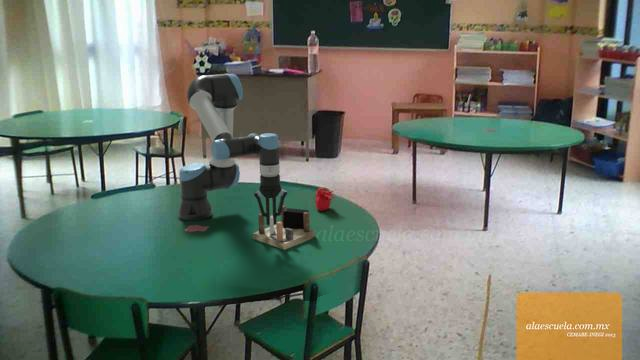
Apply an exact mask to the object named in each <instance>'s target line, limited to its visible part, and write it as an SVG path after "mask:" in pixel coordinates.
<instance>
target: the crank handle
mask: <svg viewBox="0 0 640 360" xmlns="http://www.w3.org/2000/svg"><path fill="white" fill-rule="evenodd" d="M276 228H277V234H276V233H275V230H274V234H270V237H272V238H273V239H274V240H276V241H277V242H280V241H283V223H282V222H281V221H276Z"/></svg>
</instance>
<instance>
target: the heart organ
mask: <svg viewBox="0 0 640 360" xmlns="http://www.w3.org/2000/svg"><path fill="white" fill-rule="evenodd" d="M334 196H335V193H334V191H333V190H328V189H327V188H326V187H325V186H324V187H323V186H322V187H319V188H318V189H317V190H316V191H315V196H314V198H315V199H314V200H315V201H314V203H315V207H316V209H317V210H318V211H320V212H322V211H323V212H324V211H326V210H328V209H329V208H330V207H331V204H332V201H333V198H334Z"/></svg>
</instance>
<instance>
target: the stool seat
mask: <svg viewBox="0 0 640 360" xmlns="http://www.w3.org/2000/svg"><path fill="white" fill-rule="evenodd" d="M287 208H288V207H287V205H283V207H282V211H281V215H280V220H281V221H280V222H282V223H283V213H284V210H285V209H287ZM303 214H304V229H289V228H283V241H280V242H277V241H276V240H274V239H273V238H272V237H270V226H269V227H267V228H265V227H266V226H265V216H262V214H261V213H258V214H257V218H258V219H257V220H258V221H257V222H258V231H255V232H253V234H252V235H253V237H252V238H253V240H256V241H257V242H258V241H259V242H261V243H264V244H267V245H269V246H272V247H276V248H278V249H280V250H284V251H285V250H287V249H290V248H293V247H295V246H297V245H300V244H302V243H304V242H307V241H309V240H312V239H314V238H316V231H315V230H314V229H313V230H312V229H310V226H311V225H310V211H309V212H304V213H303ZM274 230H275V233H276V234H277V228H276V225H274ZM313 237H314V238H313Z"/></svg>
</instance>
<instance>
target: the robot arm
mask: <svg viewBox="0 0 640 360" xmlns="http://www.w3.org/2000/svg"><path fill="white" fill-rule="evenodd" d="M243 92H244V91H243V86H242V82H241V81H240V78H239V76H237V74H235V73H220V74H208V75H207V74H206V75H205V74H204V75H201V76H200V75H199V76H197V77H196V78H194V79H193V80H191V82H190V84H189V85H188V87H187V92H186V99H187V102H188V104H189V106H190V107H191V109H192V110H194V111H195V112H196V114H197V115H198V117H199V120H200V122H201V123H202V125H203V127H204V128H205V130H206V132H207V134H208V135H209V137H210V139H211V141H212V142H211V144H210V152H211V155H212V157H211V158H210V159H209V165H206V164H205V163H203V162H195V163H189V164H186V165H184V166H182V167H181V168H180V169H179V176H178V177H179V178H178V179H179V187H180V203H179V208H178V211H177V212H178V213H177V216H178V218H179V219H180V220H184V221H201V220H205V219H208V218H210V217H212V215H213V208H212V206H211V203H210V201H209V198H208V192H212V191H218V190H219V191H220V190H223V189H224V190H225V189H227V190H228V189H230V188H231V189H232V188H234V187H236V186H237V185H238V184H239V181H240V175H241V174H240V166H239V165H238V163H237V162H236V160H235V159H234V158H242V157H249V156H258V157H259V174H260V175H259V182H260V183H259V185H260V186H259V188H258V190H257V191H254V192H253V196H254V197H255V198H256V200H257V201H256V202H257V203H258V207H259V210H260V214H262V216H264V218H266V225H267V226H269V227H270V234H274V225H276V223H277V218H278V217H279V216H280V217H281V211H282V207H283V206H284V201H285V198H286V197H287V194H288V192H287V190H286V189H285V190H284V189H283V188H282V186H281V175H280V172H281V169H280V140H279V135H278V134H276V133H271V132H267V133H261V134H259V133H250V134H248V135H246V136H238V137H234V136H233V135H234V133H233V132H234V111H235V109H236V108H237V107H238V102H239V101H241V100H242V99H243V97H244V96H243V95H244V93H243ZM279 194H280V199H279V203H278V207H277V197H278V195H279ZM261 195H262V196H263V197H264V198H265V209H264V207H263V202H262V200H261ZM270 199H271V202H272V203H271V204H272V215H270V214H271V213H270Z"/></svg>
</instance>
